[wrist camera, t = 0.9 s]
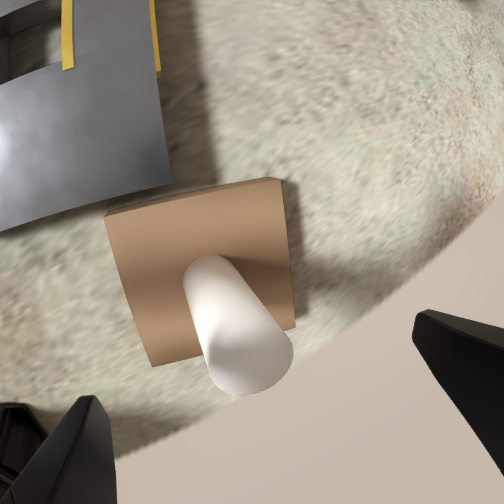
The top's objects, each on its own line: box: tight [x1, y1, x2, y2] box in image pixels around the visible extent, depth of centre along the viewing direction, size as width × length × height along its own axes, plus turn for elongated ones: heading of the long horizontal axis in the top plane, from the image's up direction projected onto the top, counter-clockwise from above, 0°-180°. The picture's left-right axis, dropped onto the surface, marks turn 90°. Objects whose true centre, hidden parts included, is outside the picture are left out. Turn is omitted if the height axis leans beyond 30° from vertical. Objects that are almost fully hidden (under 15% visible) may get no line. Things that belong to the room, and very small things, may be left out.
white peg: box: [183, 254, 293, 395], centre depth 15 cm, size 3×3×8 cm
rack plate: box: [0, 0, 173, 231], centre depth 11 cm, size 20×14×3 cm
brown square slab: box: [104, 177, 296, 367], centre depth 19 cm, size 10×10×2 cm
